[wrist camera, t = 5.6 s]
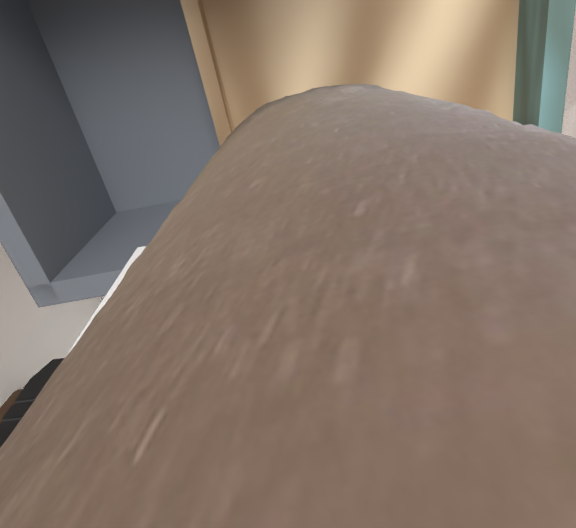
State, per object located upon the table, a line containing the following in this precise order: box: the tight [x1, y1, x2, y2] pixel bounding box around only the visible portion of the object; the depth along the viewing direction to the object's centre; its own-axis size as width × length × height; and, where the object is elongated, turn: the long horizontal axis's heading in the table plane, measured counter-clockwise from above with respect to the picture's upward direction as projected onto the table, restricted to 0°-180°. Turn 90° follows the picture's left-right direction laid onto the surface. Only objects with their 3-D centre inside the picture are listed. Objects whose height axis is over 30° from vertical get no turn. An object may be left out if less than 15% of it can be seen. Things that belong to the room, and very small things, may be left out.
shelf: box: [180, 0, 576, 146], centre depth 22 cm, size 18×16×4 cm
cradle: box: [0, 0, 220, 307], centre depth 20 cm, size 18×17×10 cm
